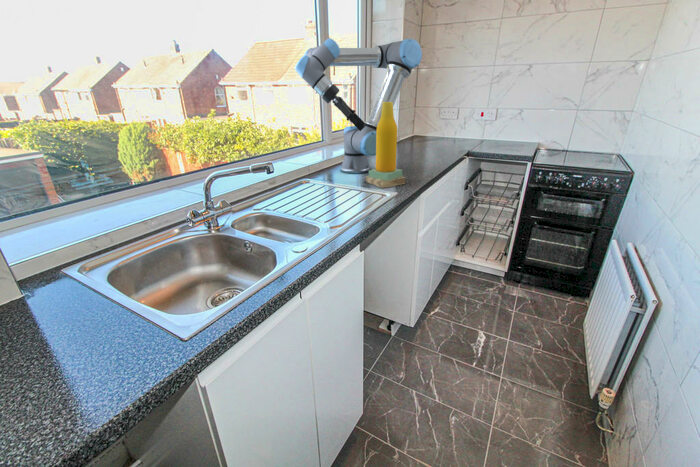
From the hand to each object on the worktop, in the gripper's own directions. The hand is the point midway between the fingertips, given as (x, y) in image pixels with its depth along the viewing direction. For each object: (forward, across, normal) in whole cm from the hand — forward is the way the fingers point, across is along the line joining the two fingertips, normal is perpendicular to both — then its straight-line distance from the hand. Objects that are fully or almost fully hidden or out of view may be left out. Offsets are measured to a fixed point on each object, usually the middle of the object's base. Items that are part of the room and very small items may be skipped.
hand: (362, 127), depth 144 cm
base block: (+25, 0, -10) cm, 27 cm away
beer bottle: (+21, 0, -6) cm, 22 cm away
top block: (+23, 0, -8) cm, 24 cm away
